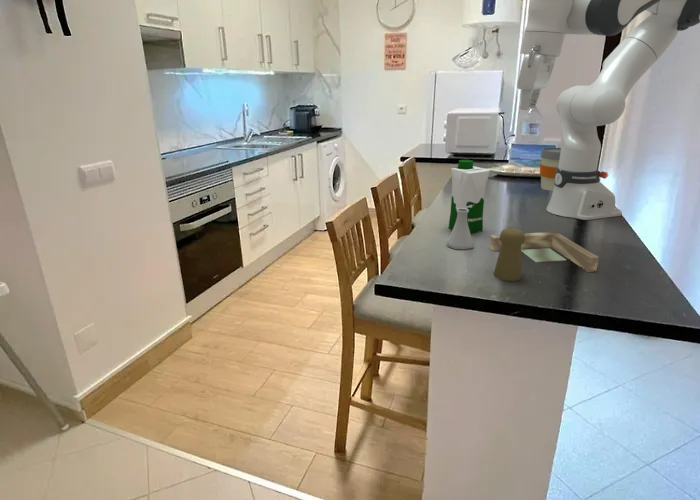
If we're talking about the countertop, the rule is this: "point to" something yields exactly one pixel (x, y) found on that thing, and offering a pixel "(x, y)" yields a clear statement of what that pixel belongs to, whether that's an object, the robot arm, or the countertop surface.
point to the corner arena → (548, 255)
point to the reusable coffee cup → (549, 167)
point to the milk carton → (468, 194)
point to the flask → (460, 232)
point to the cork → (510, 255)
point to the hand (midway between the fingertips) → (527, 108)
